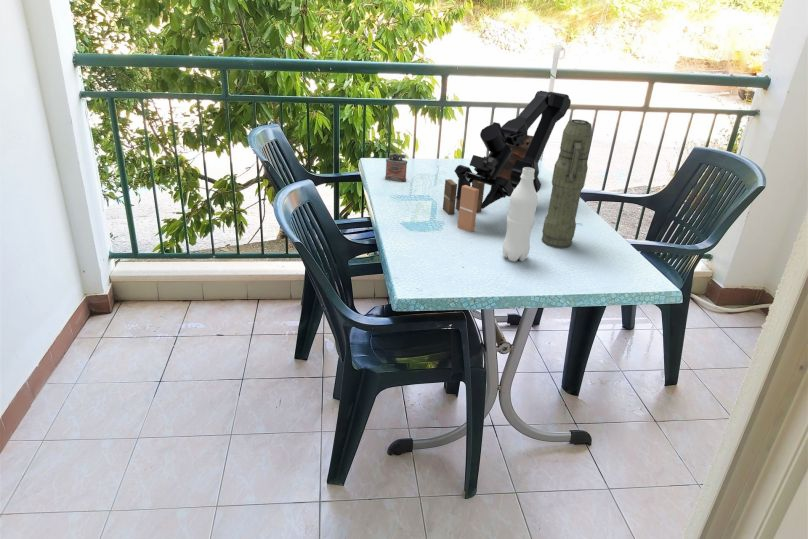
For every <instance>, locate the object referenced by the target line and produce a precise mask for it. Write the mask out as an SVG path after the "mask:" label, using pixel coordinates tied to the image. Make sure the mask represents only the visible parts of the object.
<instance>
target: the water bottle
mask: <svg viewBox="0 0 808 539" xmlns="http://www.w3.org/2000/svg"><path fill="white" fill-rule="evenodd" d="M534 172H535V169H534V168H530V167H524V168H523V170H522V174H521V176H520V177H521V180H520V182H519V184H518V185H517V187H516V188H513V192H512V194H511V196H510V197H509V206H508V213H507V216H506V234H505V237H504V240H503V241H502V242H503V243H502V254H503V257H504V258H505V259H506V258H507V259H508V261H510V262H517V261H518V260H519V261H520V262H523V261H525V260H526V259H527V257H528V256H529V254H530V249H531V245H530V244H531V243H530V241H531V239H530V238H531V233H532V229H533V227H534V224H535V217H536V212H537V211H536V210H537V206H538V202H539V200H538V199H539V198H538V194H537V193H538V192H537V193H536V190H535V188H534V184H533V180H534Z"/></svg>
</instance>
